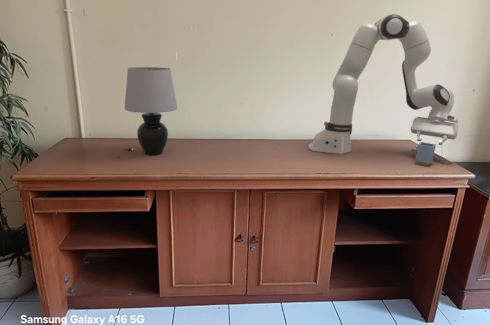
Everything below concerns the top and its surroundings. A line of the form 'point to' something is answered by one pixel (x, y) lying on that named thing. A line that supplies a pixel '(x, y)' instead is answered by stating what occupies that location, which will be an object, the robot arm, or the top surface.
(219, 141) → the top surface
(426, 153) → the collar
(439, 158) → the adjustable wrench
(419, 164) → the post stand
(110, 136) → the top surface
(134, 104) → the lamp
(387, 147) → the top surface
